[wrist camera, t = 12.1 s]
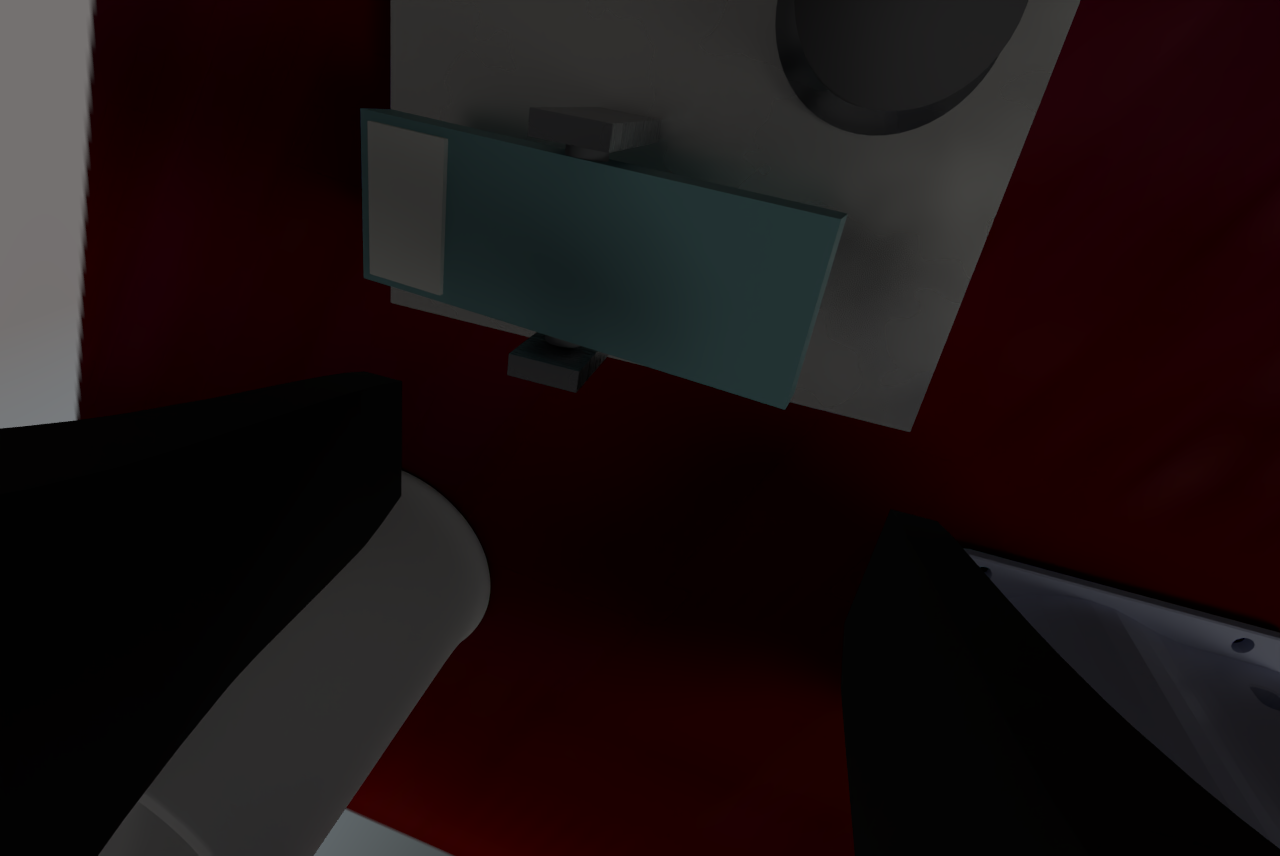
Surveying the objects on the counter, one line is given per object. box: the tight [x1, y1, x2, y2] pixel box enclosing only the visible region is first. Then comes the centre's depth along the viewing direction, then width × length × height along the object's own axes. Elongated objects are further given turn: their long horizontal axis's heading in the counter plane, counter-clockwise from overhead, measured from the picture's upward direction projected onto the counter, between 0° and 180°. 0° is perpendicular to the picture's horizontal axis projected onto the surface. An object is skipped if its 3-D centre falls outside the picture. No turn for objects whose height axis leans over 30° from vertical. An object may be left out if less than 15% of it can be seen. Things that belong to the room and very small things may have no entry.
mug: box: [98, 470, 490, 856], centre depth 21 cm, size 12×8×12 cm
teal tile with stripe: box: [360, 108, 848, 410], centre depth 15 cm, size 11×4×1 cm, turn 81°
